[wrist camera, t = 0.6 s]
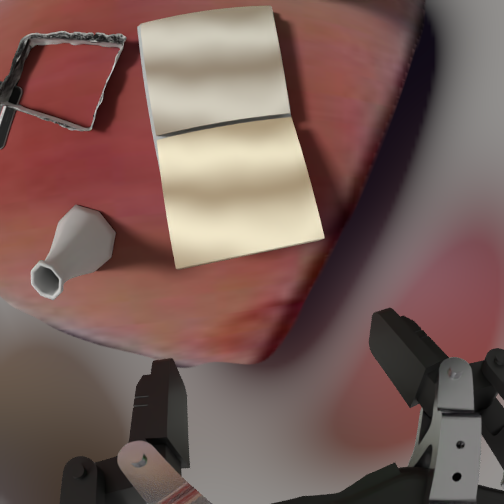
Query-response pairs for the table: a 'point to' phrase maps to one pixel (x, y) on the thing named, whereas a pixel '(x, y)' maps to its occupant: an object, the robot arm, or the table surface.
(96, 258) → the flask
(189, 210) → the cream wavy square sheet
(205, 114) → the laid plank
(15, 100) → the smartphone
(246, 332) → the table surface
